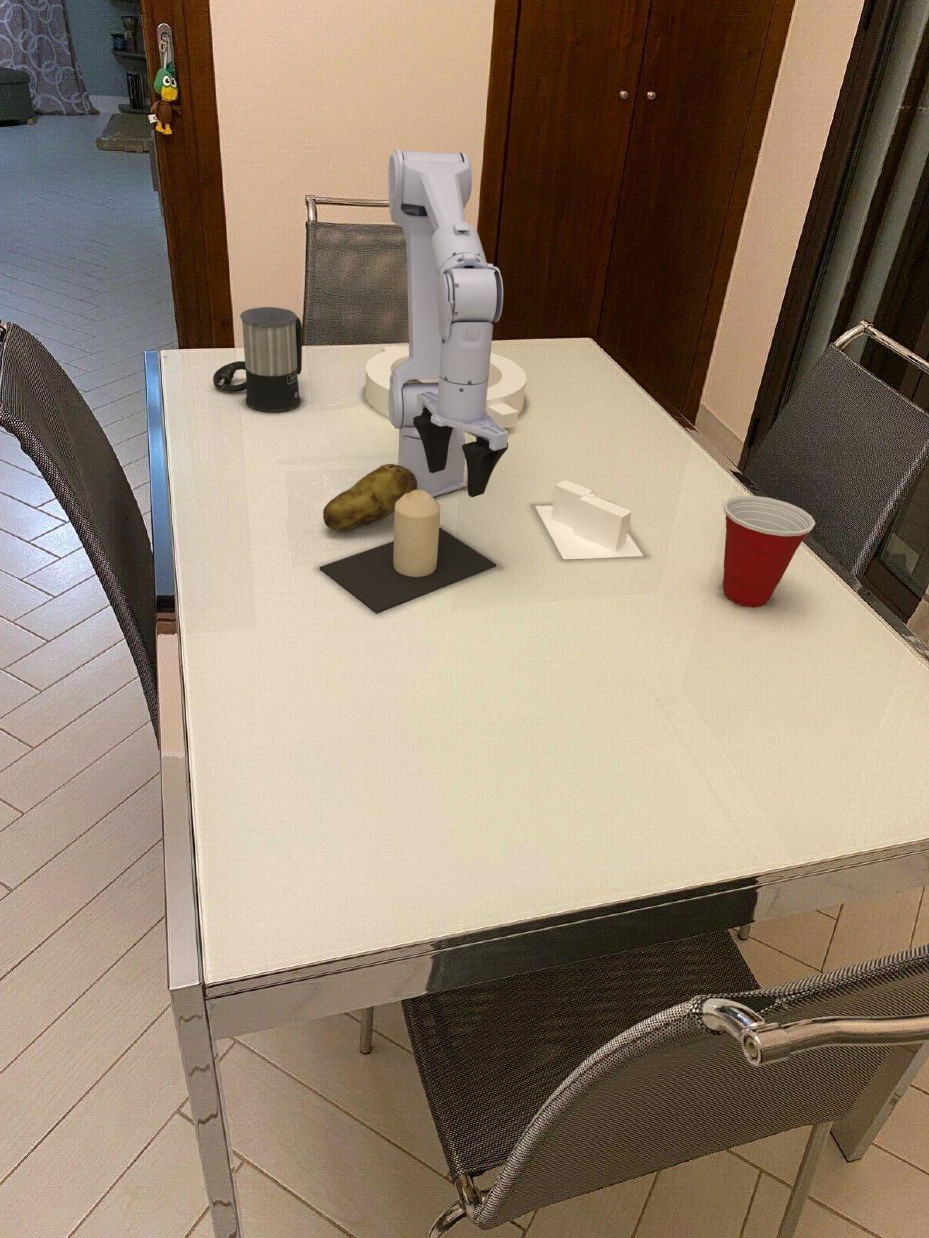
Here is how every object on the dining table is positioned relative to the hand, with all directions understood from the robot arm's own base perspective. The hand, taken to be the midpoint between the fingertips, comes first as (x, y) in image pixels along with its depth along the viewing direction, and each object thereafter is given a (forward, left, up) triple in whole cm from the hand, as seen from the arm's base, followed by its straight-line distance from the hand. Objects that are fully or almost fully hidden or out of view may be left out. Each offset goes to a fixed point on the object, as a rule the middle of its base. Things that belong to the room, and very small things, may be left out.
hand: (456, 482), depth 116 cm
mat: (+7, 0, -10) cm, 12 cm away
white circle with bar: (-34, -42, -11) cm, 55 cm away
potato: (+4, -12, -11) cm, 17 cm away
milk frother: (-6, -59, -11) cm, 61 cm away
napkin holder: (-20, +6, -11) cm, 23 cm away
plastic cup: (-25, +29, -11) cm, 39 cm away
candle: (+6, 0, -10) cm, 12 cm away
